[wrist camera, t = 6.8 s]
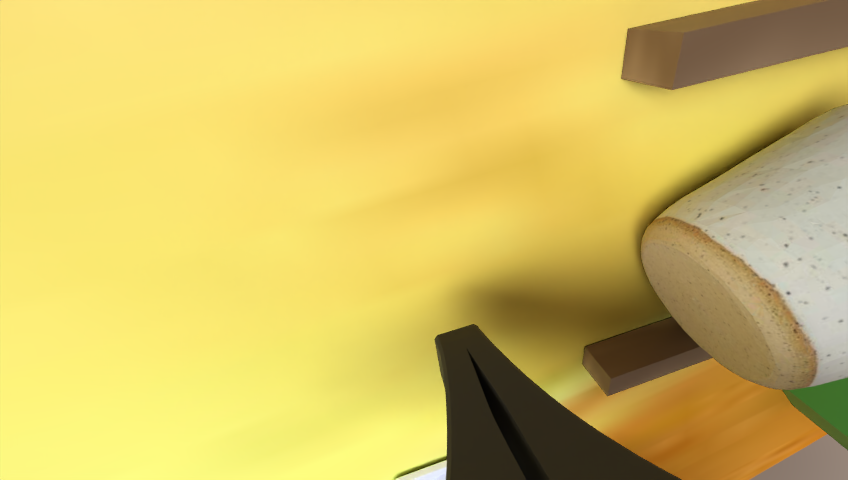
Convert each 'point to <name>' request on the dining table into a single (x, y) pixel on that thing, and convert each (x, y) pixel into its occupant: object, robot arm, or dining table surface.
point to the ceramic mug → (764, 260)
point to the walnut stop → (687, 65)
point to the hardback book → (825, 407)
